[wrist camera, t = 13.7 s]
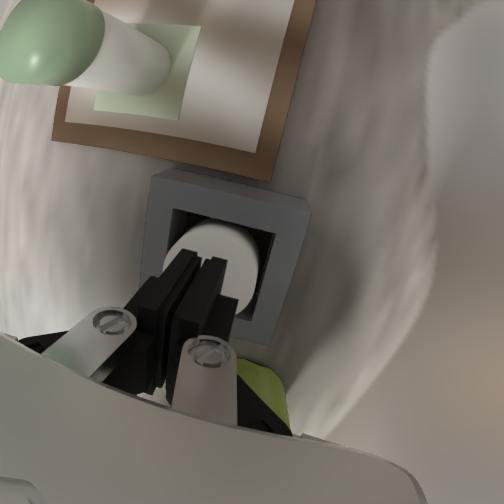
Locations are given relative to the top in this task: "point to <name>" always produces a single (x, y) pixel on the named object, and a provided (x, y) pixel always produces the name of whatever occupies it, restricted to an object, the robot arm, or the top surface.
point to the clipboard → (200, 85)
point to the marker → (79, 49)
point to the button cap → (224, 255)
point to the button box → (236, 211)
